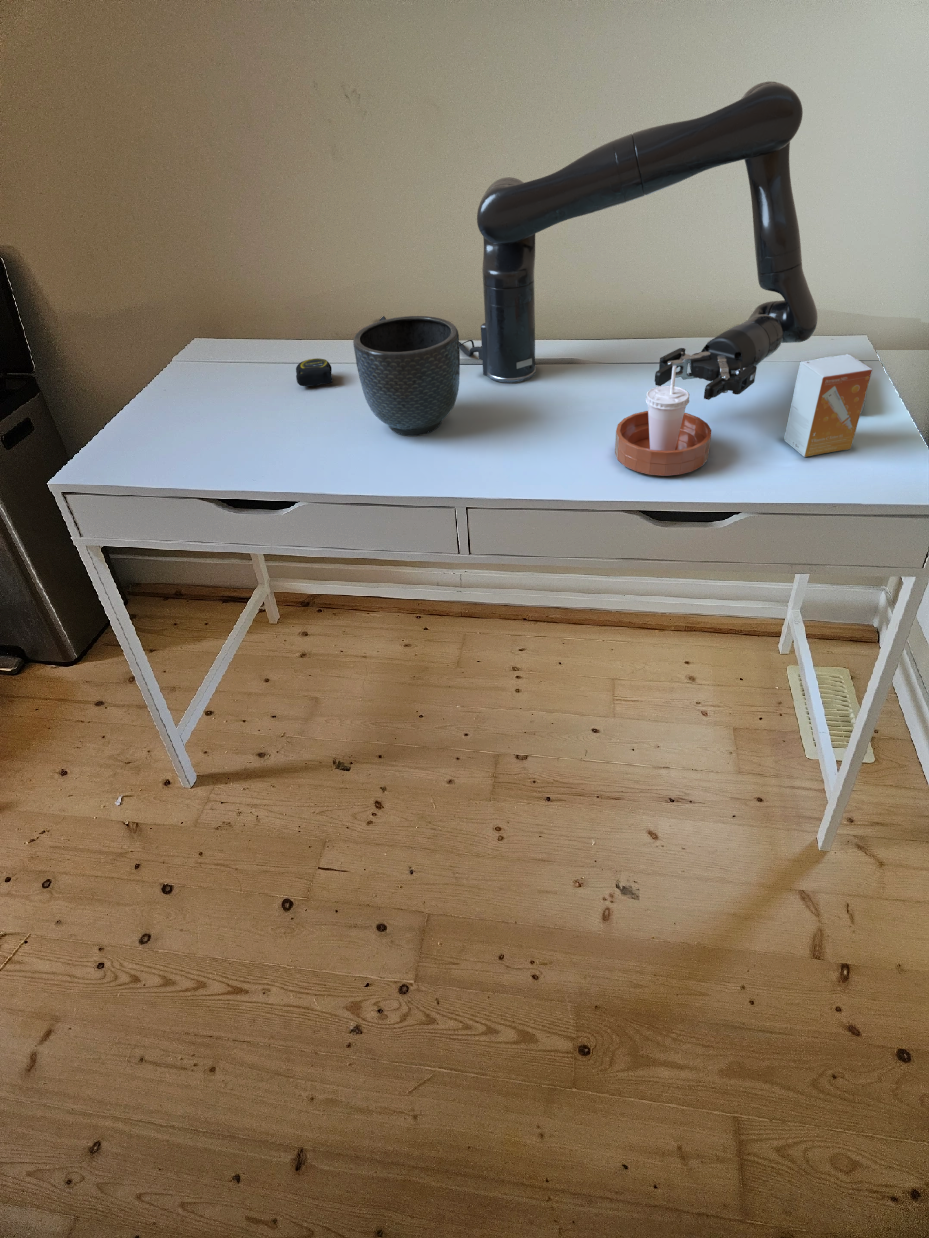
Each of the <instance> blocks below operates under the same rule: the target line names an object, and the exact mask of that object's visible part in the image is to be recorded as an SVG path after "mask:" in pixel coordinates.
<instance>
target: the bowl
mask: <svg viewBox="0 0 929 1238" xmlns="http://www.w3.org/2000/svg"><path fill="white" fill-rule="evenodd" d="M711 440H712V428H711V427H710V425H709V424H708V422H706V421H705V420H703V419H702V418H700V417H698V416H696V415H694V414H690V413H688V412H684V416H683V420H682V424H681V428H680V432H679V436H678V440H677V444H676V448H675V450H672V451H661V450H651V449H650V439H649V418H648V410H644V411H639V412H635V413H633V414H630V415H628V416H626V417H624V418H623V419H622V420H621V421H619V422H618V424H617V425H616V430H615V443H614V455H615V458H616V460H617V461H618V462H619V463H620V464H621V465H623V467H625V468H627V469H629V470H632V471H634V472H637V473H641V474H645V475H649V476H662V477H664V476H679V475H683V474H688V473H691V472H694V471H696V470H698V469H699V468H702V467H703V466H704V465H705V463H706V462H707V461H708V460H709V455H710V454H709V453H710V447H711Z"/></svg>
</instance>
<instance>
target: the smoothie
mask: <svg viewBox="0 0 929 1238" xmlns="http://www.w3.org/2000/svg"><path fill="white" fill-rule="evenodd" d="M676 367H677V366H673V368H672V378H671V380H670V385H661V386H656V387H653V388H650V389H649V390H648V391H647V392H646V395H645V396H646V397H645V403H646V404H647V411H648V418H649V439H650V449H651V450H661V451H672V450H675V448H676V444H677V440H678V436H679V432H680V428H681V424H682V420H683V416H684V413H686V407H687V405H688V404H689V403H690V393H689V392H688V391H687V390H686V389H684V388H683V387H679V386H675V385H676V378H675V376H676V372H677V368H676Z"/></svg>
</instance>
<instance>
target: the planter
mask: <svg viewBox="0 0 929 1238" xmlns="http://www.w3.org/2000/svg"><path fill="white" fill-rule="evenodd" d="M459 336H460V335H459V330H458V328H457V326H456V325H455V324H454V323H453V322H451V321H449V320H446V319H444V318H441V317H435V316H429V315H407V316H398V317H391V318H386V320H382V321H379V320H378V321H375V322H373V323H371V324H368V325H366V326H364V327H362V328H360V329H359V331H357V332H356V334H355V335H354V337H353V340H352V345H353V350H354V351H353V352H354V356H355V363H356V369H357V373H358V377H359V382H360V386H361V388H362V393H363V396H364V399H365V401H366V403H367V405H368V407H369V409H370V410H371V412H372V414H373V415H374V416H375V417H376V418H377V419H378V420H379V421H380V422H382V423H383V424H385V425H387V426H388V428H389V429H390V430H391V431H392V432H394V433H395V434H398V435H401V436H407V437H415V436H416V437H417V436H422V435H423V436H424V435H426V434H429V433H432V432H434V431H436V430H437V429H438V428H439V427H440V426H441V424H442V422H443V420H444V419H445V418H446V417H448V415H449V414H450V412H451V411H452V409H453V408H454V407H455V404H456V401H457V399H458V395H459V390H460V377H461V376H460V375H461V355H460V353H461V352H460V351H461V350H460V348H459V342H460V337H459Z"/></svg>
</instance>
